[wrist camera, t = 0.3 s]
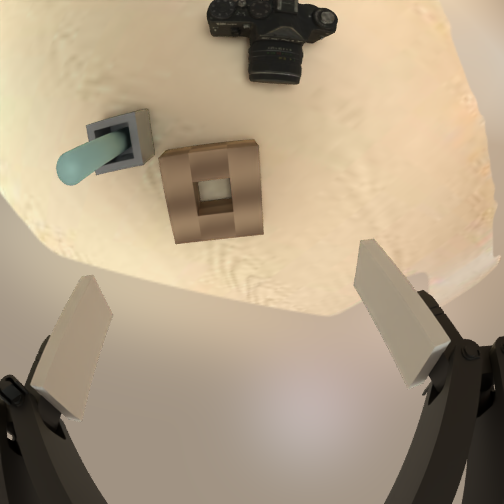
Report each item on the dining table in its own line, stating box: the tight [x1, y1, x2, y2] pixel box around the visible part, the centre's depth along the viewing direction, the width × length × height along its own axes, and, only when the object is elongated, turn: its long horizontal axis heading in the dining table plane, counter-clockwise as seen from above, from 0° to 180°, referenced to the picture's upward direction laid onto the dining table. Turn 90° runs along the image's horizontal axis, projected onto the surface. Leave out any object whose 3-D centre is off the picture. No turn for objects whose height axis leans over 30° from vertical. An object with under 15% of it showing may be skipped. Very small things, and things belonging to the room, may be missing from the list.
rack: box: [158, 139, 264, 244], centre depth 36 cm, size 12×12×5 cm
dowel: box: [56, 127, 132, 186], centre depth 25 cm, size 3×3×16 cm
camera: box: [207, 0, 338, 84], centre depth 24 cm, size 14×11×10 cm
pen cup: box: [86, 109, 155, 175], centre depth 30 cm, size 7×7×6 cm
